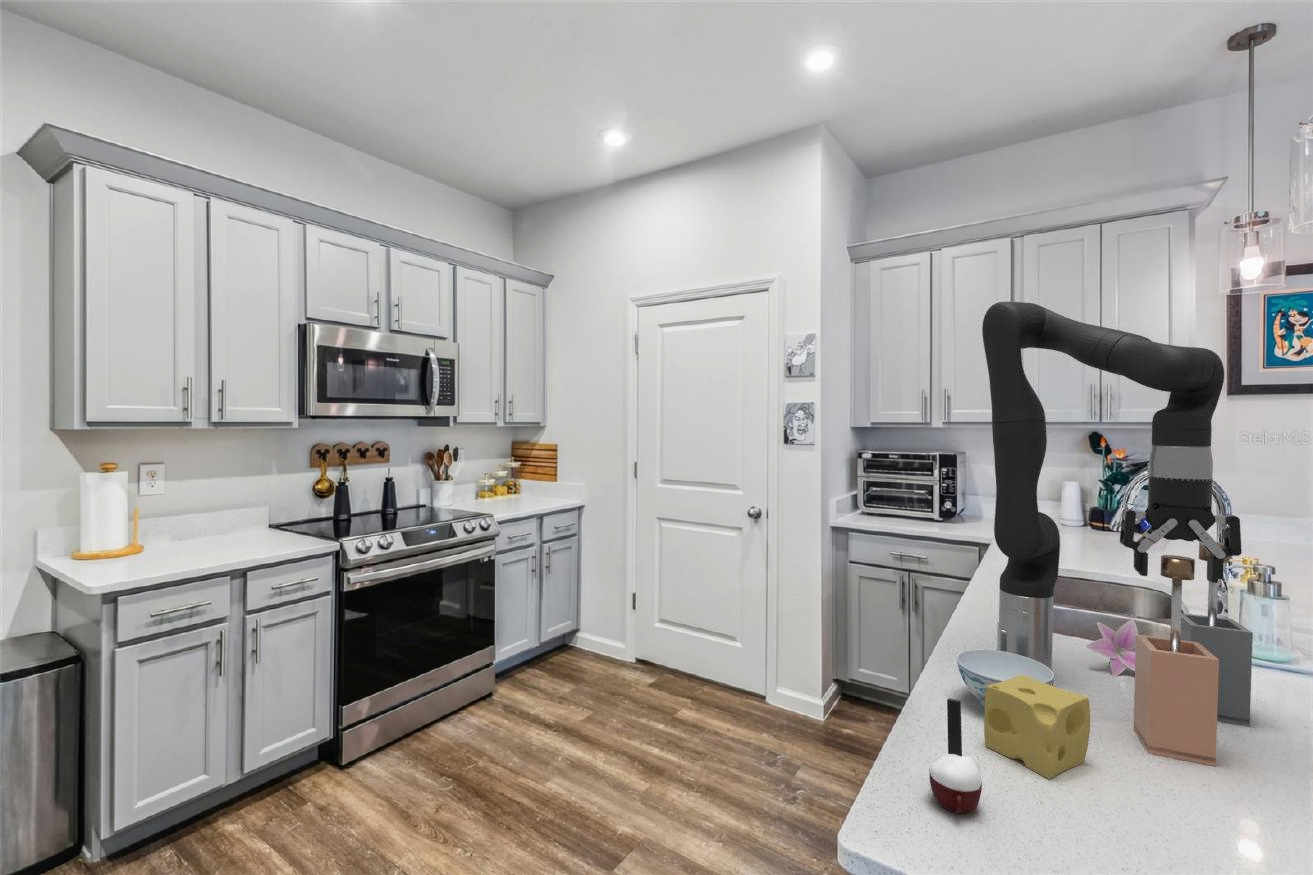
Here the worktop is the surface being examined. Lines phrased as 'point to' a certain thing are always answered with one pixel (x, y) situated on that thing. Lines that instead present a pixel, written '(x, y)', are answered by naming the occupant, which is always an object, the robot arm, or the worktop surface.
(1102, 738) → the worktop surface
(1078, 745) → the cheese
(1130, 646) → the lily
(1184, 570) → the bronze knob plunger
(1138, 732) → the press terracotta
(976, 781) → the rounded three-tone fixture
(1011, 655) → the chinaware
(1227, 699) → the grey square holder
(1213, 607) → the tall bronze-capped rod
